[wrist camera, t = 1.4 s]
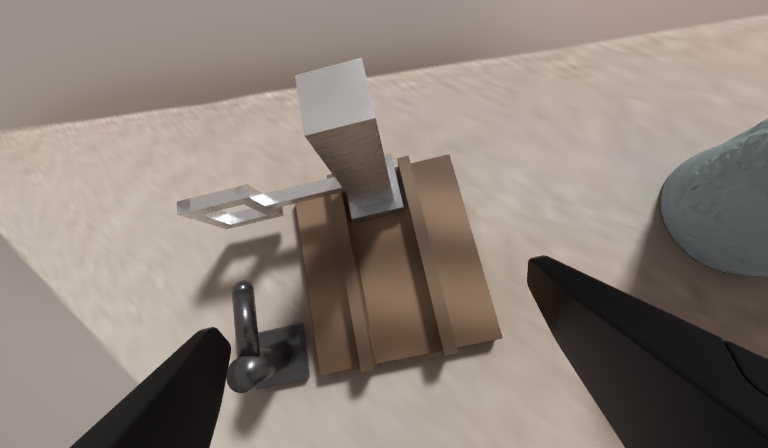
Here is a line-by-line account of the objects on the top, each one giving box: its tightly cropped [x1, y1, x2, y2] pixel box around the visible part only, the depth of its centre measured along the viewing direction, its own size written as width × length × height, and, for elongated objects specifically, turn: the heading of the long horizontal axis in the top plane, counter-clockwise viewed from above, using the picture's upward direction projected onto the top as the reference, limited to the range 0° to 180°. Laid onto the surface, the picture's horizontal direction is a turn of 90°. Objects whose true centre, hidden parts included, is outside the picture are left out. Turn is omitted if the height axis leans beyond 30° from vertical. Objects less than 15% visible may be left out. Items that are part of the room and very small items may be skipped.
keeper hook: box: [226, 280, 309, 393], centre depth 18 cm, size 7×4×5 cm, turn 12°
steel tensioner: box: [177, 58, 404, 229], centre depth 16 cm, size 4×13×10 cm, turn 102°
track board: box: [296, 155, 502, 375], centre depth 20 cm, size 13×12×3 cm
